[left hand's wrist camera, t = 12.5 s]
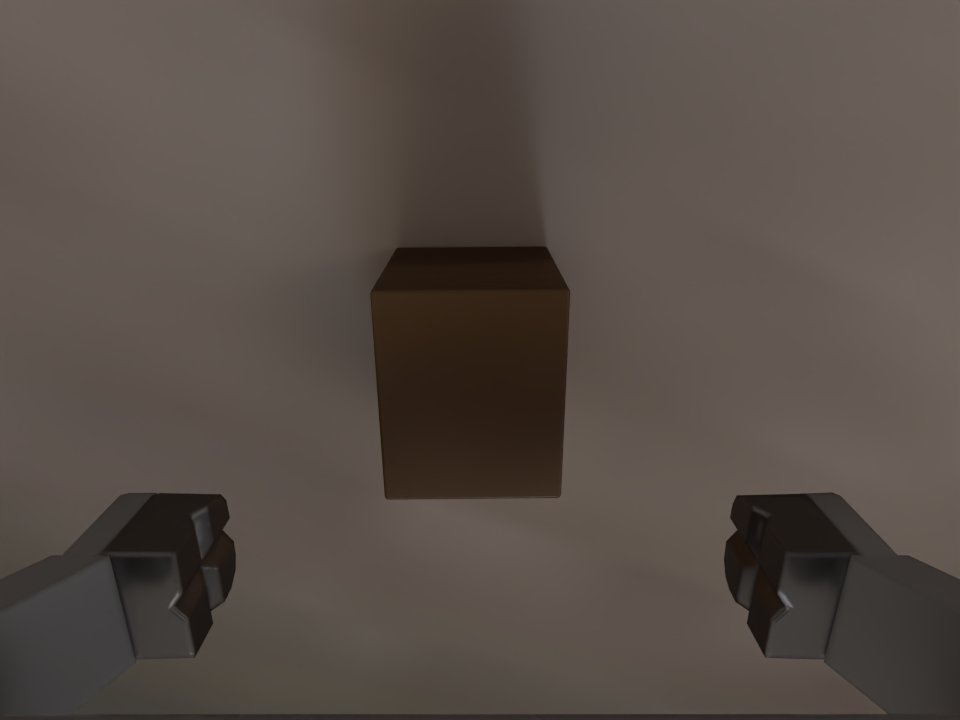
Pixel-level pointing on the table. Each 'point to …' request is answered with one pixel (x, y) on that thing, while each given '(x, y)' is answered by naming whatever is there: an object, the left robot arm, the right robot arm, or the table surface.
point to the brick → (471, 372)
